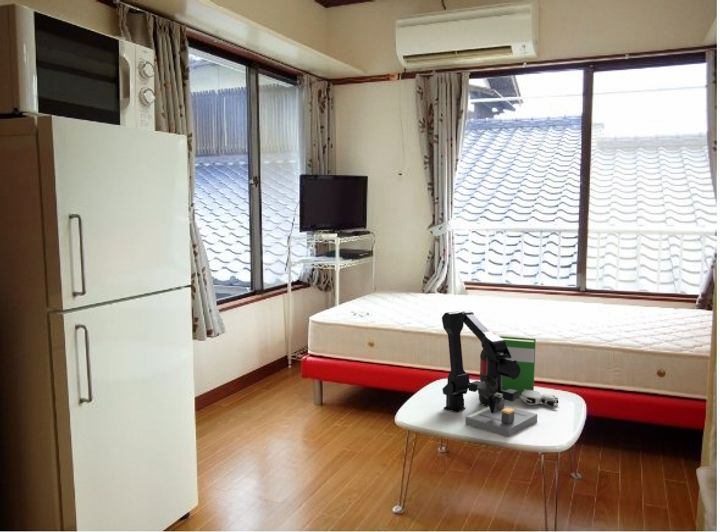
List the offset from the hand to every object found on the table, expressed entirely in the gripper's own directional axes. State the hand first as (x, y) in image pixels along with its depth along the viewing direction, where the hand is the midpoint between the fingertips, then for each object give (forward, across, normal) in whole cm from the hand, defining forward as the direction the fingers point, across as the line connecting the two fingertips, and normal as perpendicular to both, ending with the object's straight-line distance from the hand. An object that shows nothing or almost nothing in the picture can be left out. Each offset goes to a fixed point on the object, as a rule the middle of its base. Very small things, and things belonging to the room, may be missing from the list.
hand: (492, 413), depth 225 cm
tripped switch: (+2, +6, 0) cm, 7 cm away
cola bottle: (+5, -14, +21) cm, 26 cm away
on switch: (+2, -4, +11) cm, 12 cm away
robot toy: (+6, +1, +36) cm, 37 cm away
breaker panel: (+5, +1, +5) cm, 7 cm away
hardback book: (+5, -15, +43) cm, 46 cm away
